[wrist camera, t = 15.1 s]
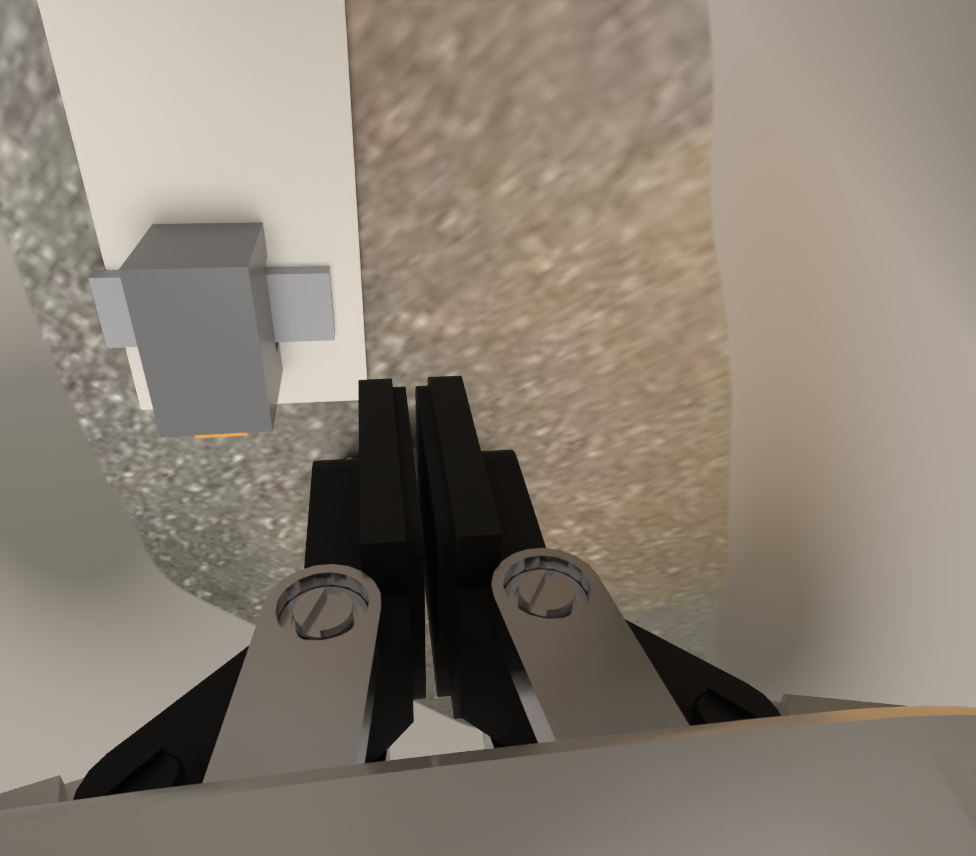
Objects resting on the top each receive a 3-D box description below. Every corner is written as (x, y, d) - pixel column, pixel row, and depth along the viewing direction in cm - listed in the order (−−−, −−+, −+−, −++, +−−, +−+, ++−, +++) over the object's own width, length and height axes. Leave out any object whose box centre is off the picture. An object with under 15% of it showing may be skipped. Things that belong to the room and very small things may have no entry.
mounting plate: (340, -77, 30) (339, -78, 28) (367, 389, 42) (368, 408, 40) (11, -93, 28) (-12, -96, 27) (136, 399, 40) (126, 420, 38)
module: (262, 222, 35) (248, 267, 30) (284, 380, 40) (274, 441, 35) (152, 223, 34) (118, 270, 29) (187, 384, 39) (163, 448, 34)
